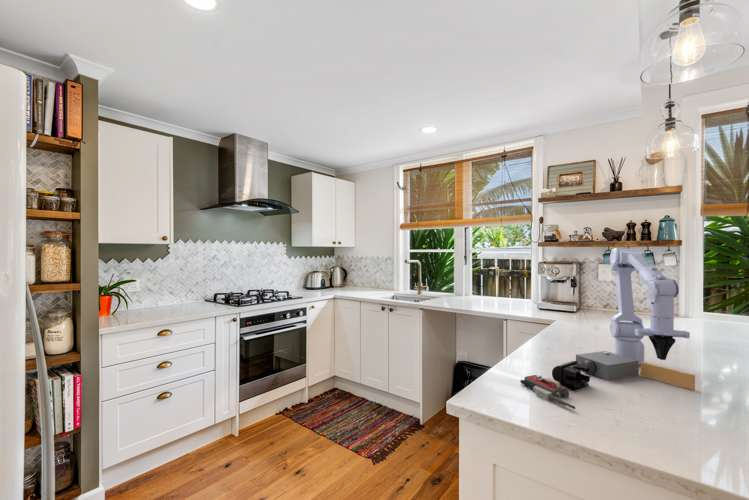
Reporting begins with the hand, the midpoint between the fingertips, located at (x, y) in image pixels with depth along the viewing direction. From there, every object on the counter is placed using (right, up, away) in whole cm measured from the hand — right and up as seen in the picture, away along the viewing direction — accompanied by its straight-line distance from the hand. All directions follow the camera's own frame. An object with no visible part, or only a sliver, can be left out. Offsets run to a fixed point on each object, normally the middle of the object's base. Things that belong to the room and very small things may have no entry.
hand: (661, 358), depth 111 cm
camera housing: (-10, -8, +12) cm, 17 cm away
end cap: (-29, -9, 0) cm, 31 cm away
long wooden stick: (+3, -8, +2) cm, 9 cm away
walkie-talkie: (-40, -9, -9) cm, 42 cm away
